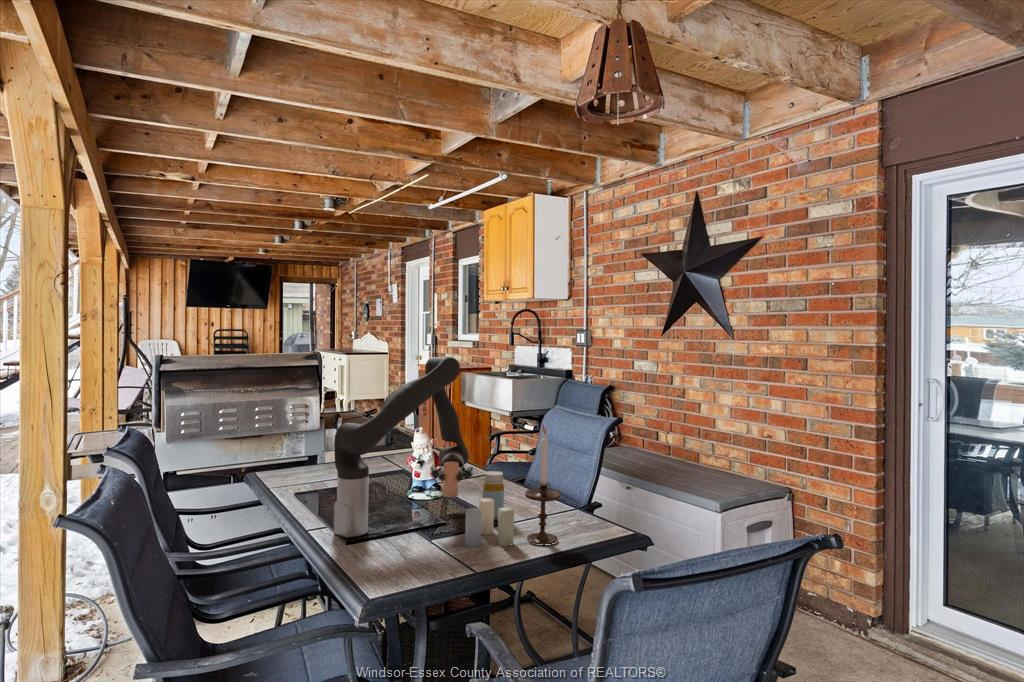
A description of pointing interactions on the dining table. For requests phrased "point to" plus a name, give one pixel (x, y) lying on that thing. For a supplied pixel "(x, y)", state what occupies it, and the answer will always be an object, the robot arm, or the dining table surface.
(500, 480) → the bottle
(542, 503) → the candlestick
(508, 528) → the sage canister
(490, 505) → the cream canister
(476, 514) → the dusty blue canister
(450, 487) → the terracotta canister
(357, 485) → the robot arm
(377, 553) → the dining table surface
